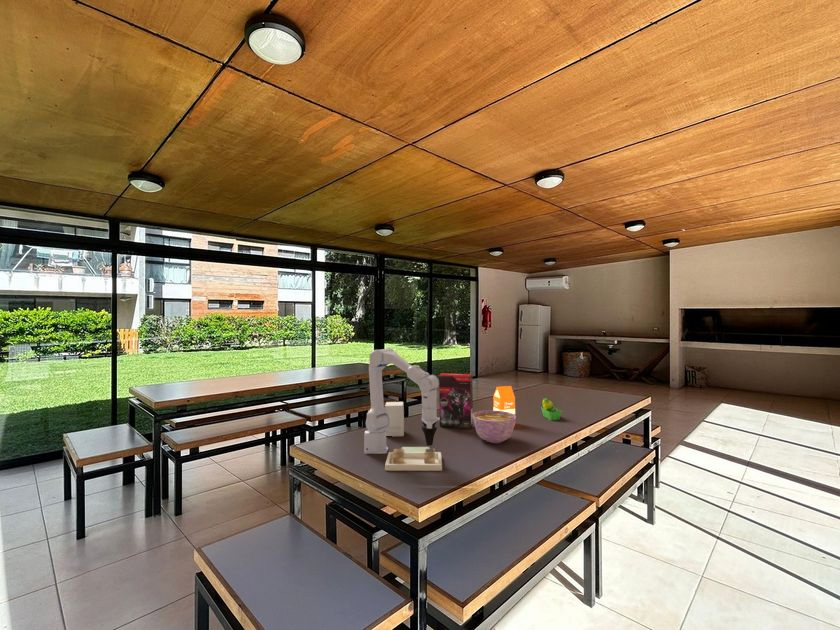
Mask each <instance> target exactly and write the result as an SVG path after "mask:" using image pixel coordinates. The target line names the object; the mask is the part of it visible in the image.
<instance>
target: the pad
mask: <svg viewBox="0 0 840 630" xmlns="http://www.w3.org/2000/svg"><path fill="white" fill-rule="evenodd" d="M401 449H404V452H424V449H430V446H401Z"/></svg>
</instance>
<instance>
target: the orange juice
mask: <svg viewBox="0 0 840 630" xmlns="http://www.w3.org/2000/svg"><path fill="white" fill-rule="evenodd" d="M492 408H493V411H504V412H509V413H512V414H514V415H515V416H516V397H515V393H514V390H513V388H512V385H504V386H496V389H495V391H494V394H493V407H492Z"/></svg>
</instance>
